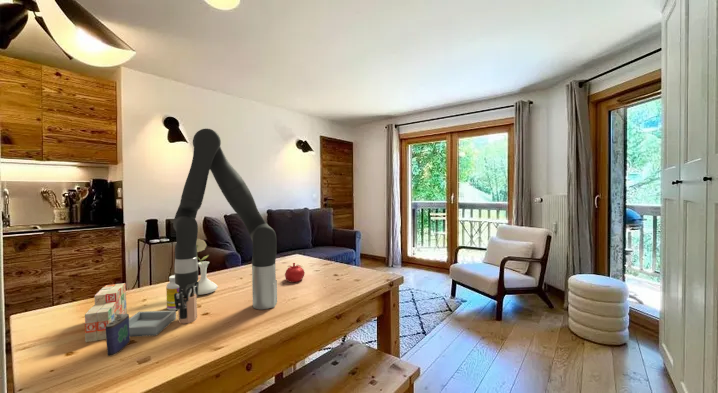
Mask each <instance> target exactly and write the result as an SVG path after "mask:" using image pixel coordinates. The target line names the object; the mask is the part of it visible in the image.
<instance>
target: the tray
mask: <svg viewBox="0 0 718 393" xmlns="http://www.w3.org/2000/svg"><path fill="white" fill-rule="evenodd" d="M176 319H177V310H158V311H157V310H151V311H150V310H149V311H138V312H136V313H135V314H134V315H132V316H131V317H129V332H130V338H131V337H135V338H136V337H156V336H157V335H159V334H160V333H161V332H162V331H163V330H165V329H166V328H167V327H168V326H169V325H170V324H172V322H174V321H176Z"/></svg>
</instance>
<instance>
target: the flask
mask: <svg viewBox="0 0 718 393" xmlns="http://www.w3.org/2000/svg"><path fill="white" fill-rule="evenodd" d="M116 315H117V317H116V318H115V320H114V321H113V322H109V324H107V325H106V339H105V340H106V352H107V357H112V356H115V355H117V354H118V353H120V352H121V351H123V350H124V349H125V348H126V347H127V346H128V345H129V344H130V343H131V337H130V332H129V318H130V315H129V314H128V313H127V314H124V315H123V314H116Z"/></svg>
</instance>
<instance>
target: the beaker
mask: <svg viewBox="0 0 718 393" xmlns="http://www.w3.org/2000/svg"><path fill="white" fill-rule="evenodd" d="M192 295H193V296H190V298H189V301H188V302H187V318H186V319H180V309H178V310H177V311H178V315H177V316H178V322H179V323H180V324H184V325H185V324H191V323H193V322H196V320H197V318H198V301H197V300H198V299H197V298H198V297H197V295H196V294H193V293H192ZM184 299H187V298H184ZM178 304H179V303H178ZM184 305H185V302H184Z"/></svg>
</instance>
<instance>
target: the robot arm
mask: <svg viewBox="0 0 718 393" xmlns="http://www.w3.org/2000/svg"><path fill="white" fill-rule="evenodd" d="M221 144H222V142H221V137H220V135H219V134H218V133H217V131H215V130H213V129H211V128H202V129H200V130H197V131H196V133H194V135H193V137H192V146H193V155H192V159H191V160H192V161H191V164H190V168H189V171H188V173H187V174H188V175H187V178H186V180H185V184H184V186H183V188H182V189H183V190H182V194H181V196H180V202H179V206H178V207H177V210H176V213H175V215H174V219H173V223H172V226H173V230H174V231H175V234H176V236H175V237H176V243H175V246H174V275H175V284H177V285H179V286H180V287H179V292H178V293H175V294H174V299H175V306H176V309H180V319H186V318H187V302H188V301H189V298H190V296H193V295H192V293H193V294H196V295H197V298H198V297H199V295H198V286H199V282H198V281H199V265H198V263H199V261H198V260H199V259H198V258H197V256H198V252H197V246H196V242H197V239H198V233H199V227H198V226H199V225H198V221H197V220H196V218H197V214H198V211H199V210H200V209H201V207H202V205H203V204H202V203H203V200H204V196H205V193H206V188H207V183H208V178H209V174H210V171H211V173H212V175H213V178H214V180H215V181H216V184H217V186H218V187H219V190H220V191H221V193H222V195H223V196H224V198H225V200H226V201H227V202H228V204H229V206H230V207H231V208H232V210H234V212H235V213H236V215H237V216H238V218H240V219H241V221H242V223H243V225H244V226H245V227H246V230H247V232H248V234H249V237H250V239H251V241H252V258H251V275H252V277H251V280H252V281H251V282H252V283H251V284H252V286H251V287H252V289H251V290H252V308H253V309H255V310H267V309H270V308H272V309H273V308H275V307H276V305H277V303H278V280H277V279H276V276H277V275H276V272H277V271H276V259H277V244H278V242H277V241H278V240H277V234H276V231H275V230H274V228H272V227H271V226H270V225H269V224H268V223H267V221H266V220H265V219H264V217H263V216H262V214H261V213H260V211H259V210H258V206H257V205H256V202H255V199H254V197H253V194H252V192H251V191H250V189H249V187H248V185H247V184H246V182H245V180H244V179H243V178H242V176H241V175H240V173H239V172H238V171H237V170H236V169H235V168H234V166H232V165H231V163H230V162H229V161H228V159H227V157H226V155H225V153H224V151H223V149H222V147H221ZM184 298H187V299H184ZM184 302H185V305H184ZM178 303H179V304H178Z"/></svg>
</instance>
